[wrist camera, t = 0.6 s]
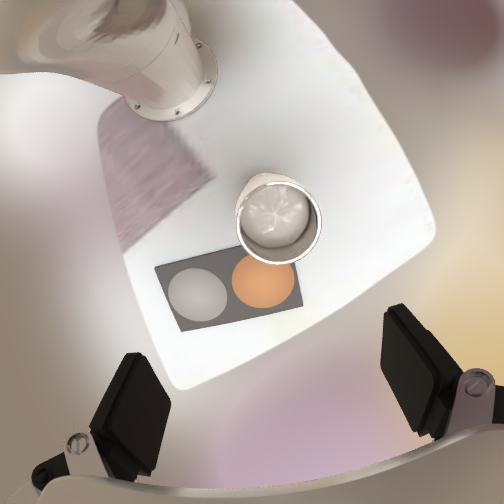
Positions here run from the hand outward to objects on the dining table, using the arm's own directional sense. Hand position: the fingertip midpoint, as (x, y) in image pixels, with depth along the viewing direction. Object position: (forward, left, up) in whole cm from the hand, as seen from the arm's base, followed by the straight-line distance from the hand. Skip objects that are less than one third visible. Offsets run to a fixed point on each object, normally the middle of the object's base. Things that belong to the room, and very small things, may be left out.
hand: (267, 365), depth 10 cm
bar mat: (+9, -6, -27) cm, 30 cm away
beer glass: (-2, +2, -28) cm, 28 cm away
